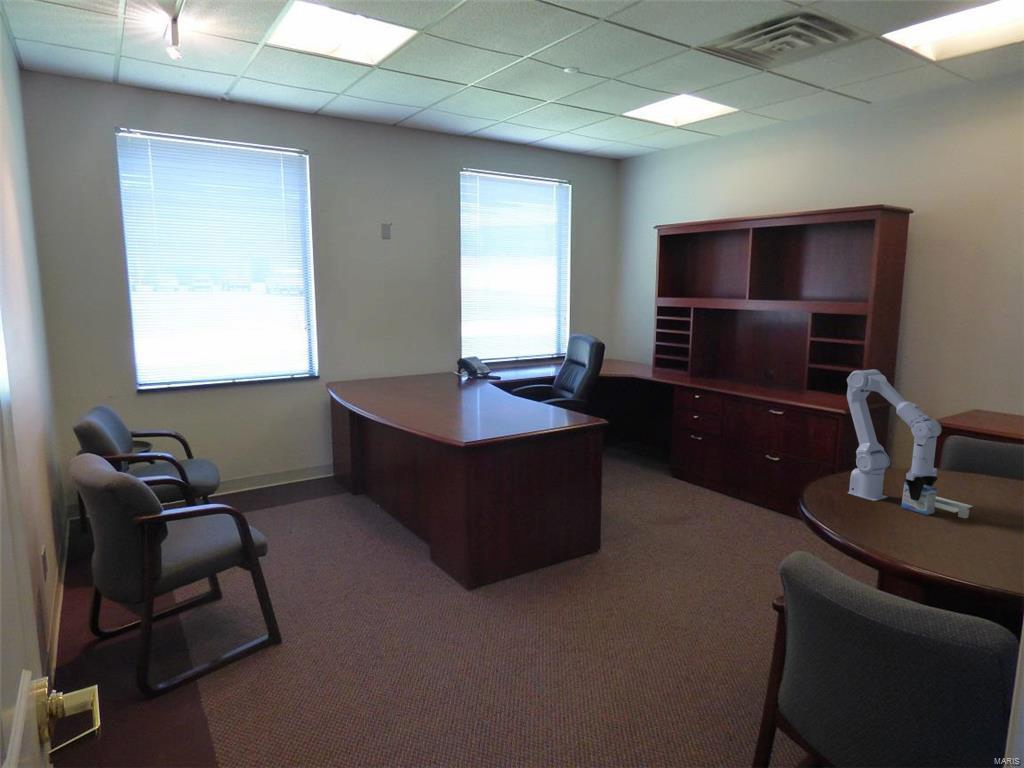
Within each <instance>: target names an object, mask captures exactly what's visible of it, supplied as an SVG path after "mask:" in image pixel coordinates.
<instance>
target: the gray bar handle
mask: <svg viewBox="0 0 1024 768" xmlns="http://www.w3.org/2000/svg"><path fill="white" fill-rule="evenodd" d="M969 514H970V509H968V510H963V509H959V511H958V512H957V517H959V518H963V519H968V518H969Z"/></svg>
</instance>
